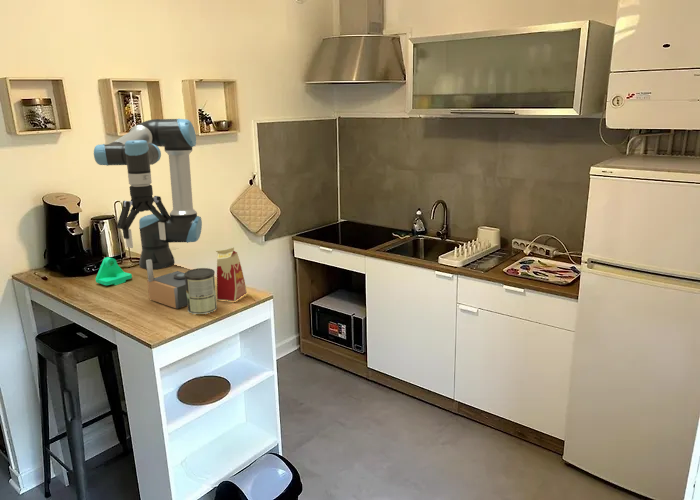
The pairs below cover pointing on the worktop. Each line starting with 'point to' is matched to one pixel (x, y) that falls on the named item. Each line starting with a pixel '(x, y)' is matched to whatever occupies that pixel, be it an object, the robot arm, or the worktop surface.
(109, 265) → the camera mount
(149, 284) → the side door
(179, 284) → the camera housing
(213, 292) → the coffee can
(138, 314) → the worktop surface
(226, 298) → the red snack bag
